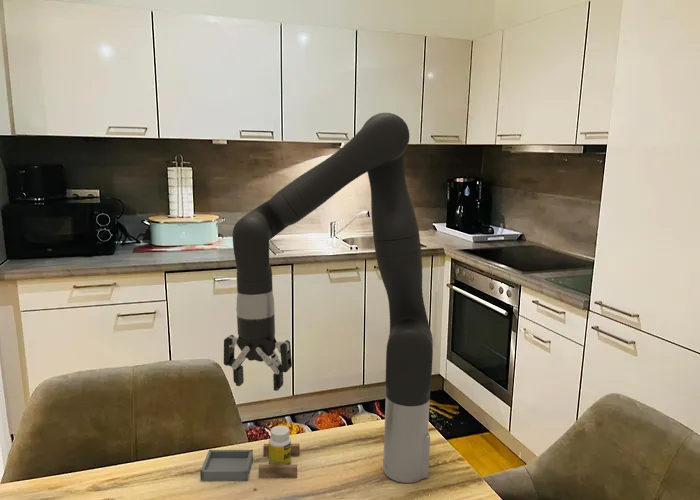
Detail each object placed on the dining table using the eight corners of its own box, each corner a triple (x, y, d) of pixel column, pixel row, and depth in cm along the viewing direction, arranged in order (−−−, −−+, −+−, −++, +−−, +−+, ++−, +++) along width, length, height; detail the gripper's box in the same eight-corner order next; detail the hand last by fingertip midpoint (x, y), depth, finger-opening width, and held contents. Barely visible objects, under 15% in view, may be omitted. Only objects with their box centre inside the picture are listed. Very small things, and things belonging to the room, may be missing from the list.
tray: (253, 458, 116) (252, 449, 116) (247, 481, 108) (247, 471, 108) (209, 458, 116) (209, 449, 115) (200, 481, 108) (200, 471, 107)
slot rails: (299, 453, 118) (299, 443, 118) (297, 478, 109) (297, 467, 109) (264, 453, 118) (263, 443, 117) (258, 478, 109) (258, 467, 109)
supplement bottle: (286, 473, 111) (286, 437, 109) (265, 470, 112) (265, 434, 110) (293, 460, 116) (293, 425, 114) (273, 458, 116) (273, 423, 115)
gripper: (295, 309, 108) (296, 383, 110) (232, 304, 111) (235, 375, 114) (281, 320, 100) (283, 399, 103) (214, 314, 104) (218, 390, 107)
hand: (258, 386), depth 109 cm, fingers open, 8 cm apart
